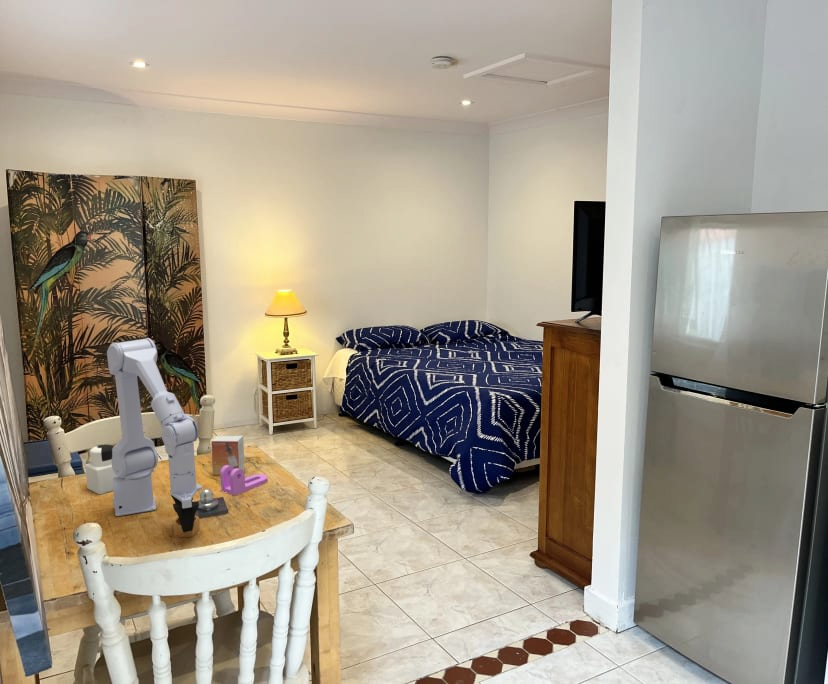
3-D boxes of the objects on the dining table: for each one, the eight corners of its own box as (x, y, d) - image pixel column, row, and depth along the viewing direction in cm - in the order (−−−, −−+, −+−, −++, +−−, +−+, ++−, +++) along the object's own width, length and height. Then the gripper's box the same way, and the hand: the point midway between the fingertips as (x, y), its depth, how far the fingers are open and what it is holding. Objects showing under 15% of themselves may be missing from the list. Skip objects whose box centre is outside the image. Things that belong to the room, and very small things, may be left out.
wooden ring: (174, 539, 155) (173, 527, 155) (173, 529, 161) (172, 517, 160) (201, 534, 158) (200, 522, 157) (198, 524, 163) (197, 513, 162)
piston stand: (190, 519, 166) (189, 498, 165) (187, 506, 174) (186, 485, 173) (228, 513, 169) (227, 492, 168) (223, 500, 177) (222, 480, 176)
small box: (212, 475, 195) (210, 440, 193) (218, 468, 200) (216, 434, 199) (239, 476, 195) (237, 441, 193) (245, 469, 200) (243, 435, 198)
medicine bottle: (112, 481, 191) (108, 440, 189) (124, 487, 187) (121, 445, 185) (87, 489, 186) (82, 447, 184) (99, 495, 182) (95, 452, 180)
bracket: (234, 496, 180) (232, 471, 179) (221, 491, 184) (219, 467, 182) (271, 481, 190) (270, 458, 189) (258, 477, 194) (257, 454, 193)
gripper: (204, 478, 152) (207, 534, 154) (197, 458, 165) (200, 510, 167) (170, 483, 149) (175, 540, 151) (166, 462, 162) (170, 515, 164)
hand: (186, 525), depth 159 cm, fingers closed on wooden ring, 6 cm apart
